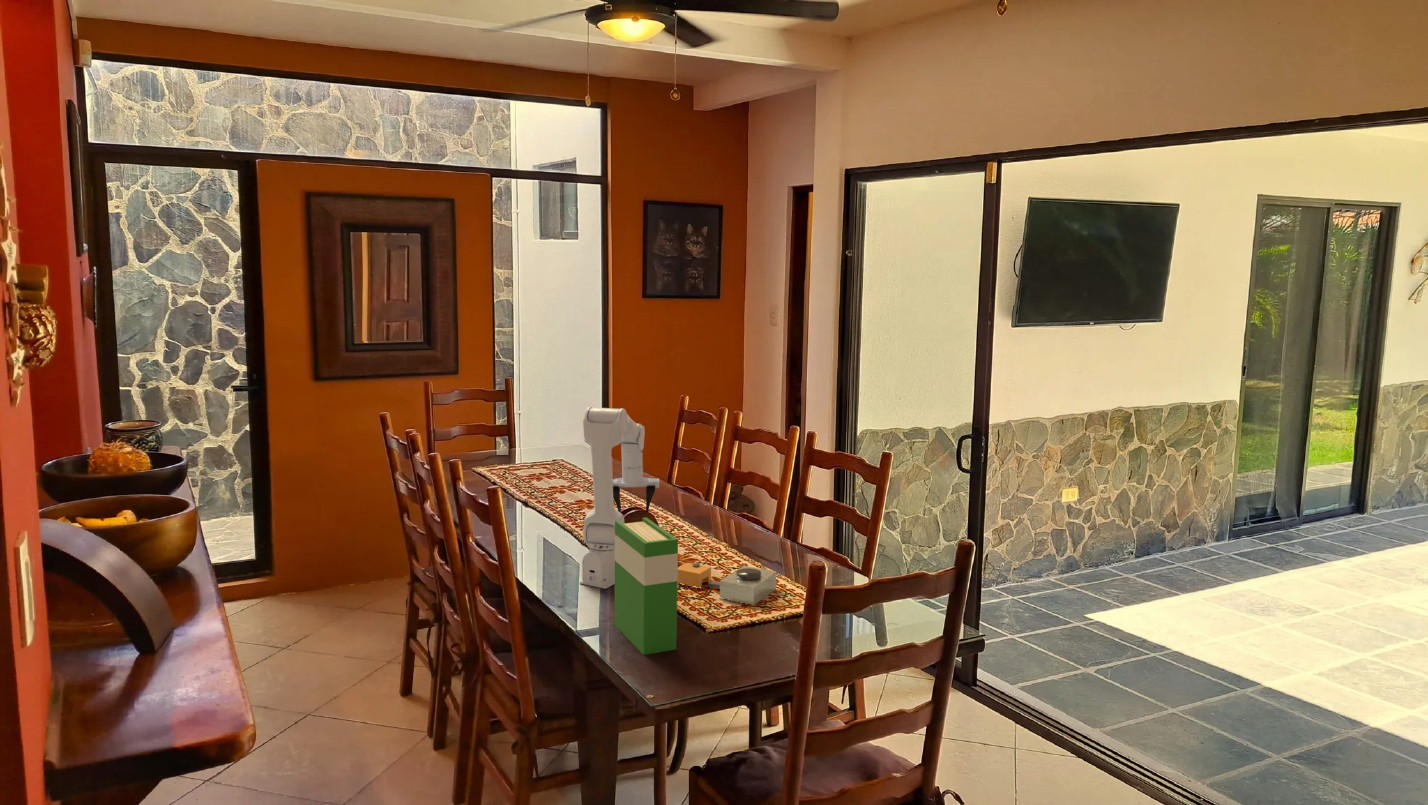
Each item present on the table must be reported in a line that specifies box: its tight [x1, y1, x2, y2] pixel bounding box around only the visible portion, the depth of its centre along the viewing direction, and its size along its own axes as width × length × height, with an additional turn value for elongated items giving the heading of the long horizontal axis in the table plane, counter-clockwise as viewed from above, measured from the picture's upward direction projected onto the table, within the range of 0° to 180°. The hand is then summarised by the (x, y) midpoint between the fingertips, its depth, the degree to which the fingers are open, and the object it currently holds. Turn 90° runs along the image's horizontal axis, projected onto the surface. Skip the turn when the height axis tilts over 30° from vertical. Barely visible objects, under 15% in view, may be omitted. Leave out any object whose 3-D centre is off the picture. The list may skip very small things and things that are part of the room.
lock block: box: [677, 562, 712, 587], centre depth 243 cm, size 6×7×5 cm
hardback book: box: [613, 517, 679, 656], centre depth 208 cm, size 18×7×24 cm, turn 26°
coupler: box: [707, 565, 777, 606], centre depth 238 cm, size 13×15×6 cm
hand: (633, 511), depth 269 cm, fingers open, 7 cm apart
